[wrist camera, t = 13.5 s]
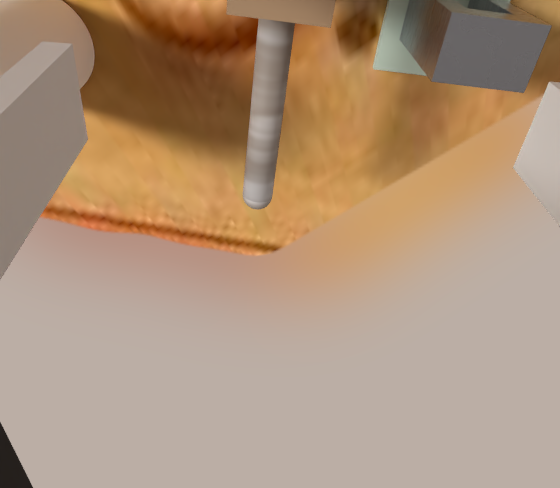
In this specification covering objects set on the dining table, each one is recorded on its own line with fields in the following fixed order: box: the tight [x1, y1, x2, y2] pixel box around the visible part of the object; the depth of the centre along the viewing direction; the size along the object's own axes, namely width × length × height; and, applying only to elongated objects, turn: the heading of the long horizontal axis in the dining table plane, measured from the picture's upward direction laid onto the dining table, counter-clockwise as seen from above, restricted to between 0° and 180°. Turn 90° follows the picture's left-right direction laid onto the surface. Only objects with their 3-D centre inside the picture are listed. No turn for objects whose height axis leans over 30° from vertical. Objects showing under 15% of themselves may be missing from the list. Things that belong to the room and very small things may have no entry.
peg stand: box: [227, 0, 335, 209], centre depth 32 cm, size 19×7×16 cm, turn 173°
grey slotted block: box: [399, 0, 552, 93], centre depth 34 cm, size 4×6×10 cm, turn 83°
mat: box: [373, 0, 511, 76], centre depth 38 cm, size 9×9×1 cm
